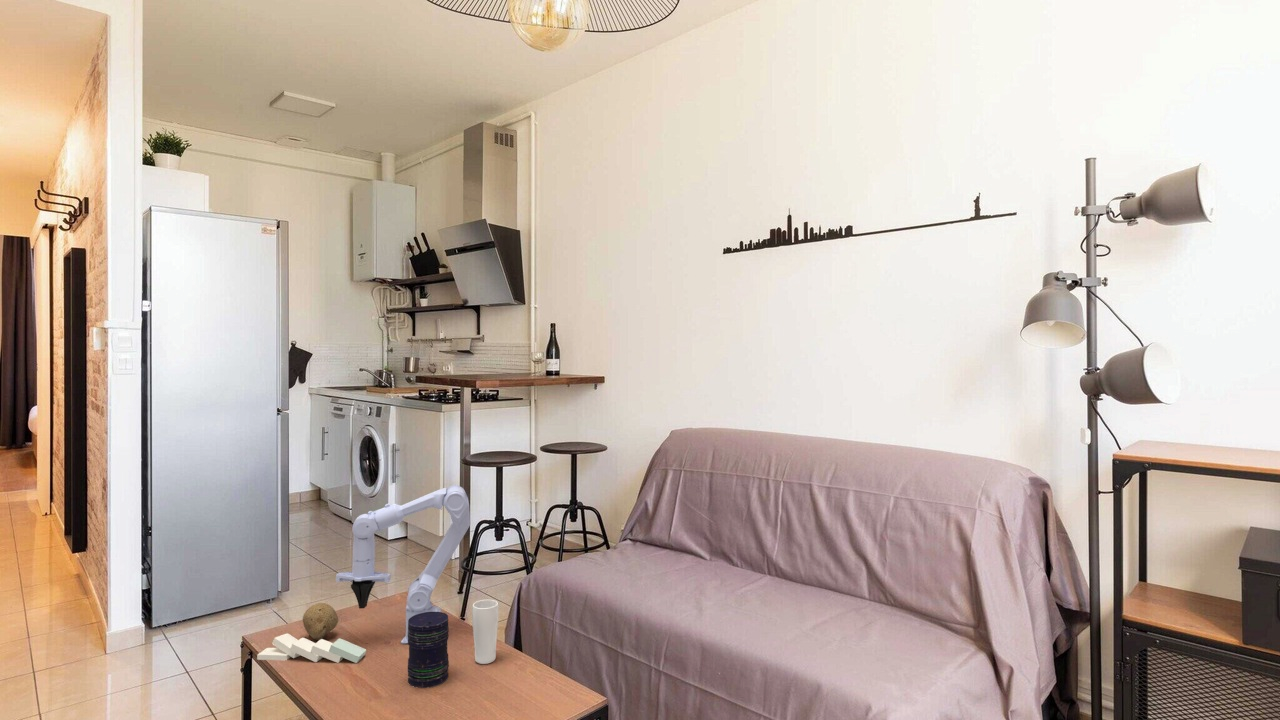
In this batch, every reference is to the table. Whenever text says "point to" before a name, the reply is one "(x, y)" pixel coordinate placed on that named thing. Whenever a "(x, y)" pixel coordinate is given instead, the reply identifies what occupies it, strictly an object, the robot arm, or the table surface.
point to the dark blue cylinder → (428, 649)
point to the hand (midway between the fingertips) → (362, 607)
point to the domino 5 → (347, 650)
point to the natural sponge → (320, 620)
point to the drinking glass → (485, 630)
